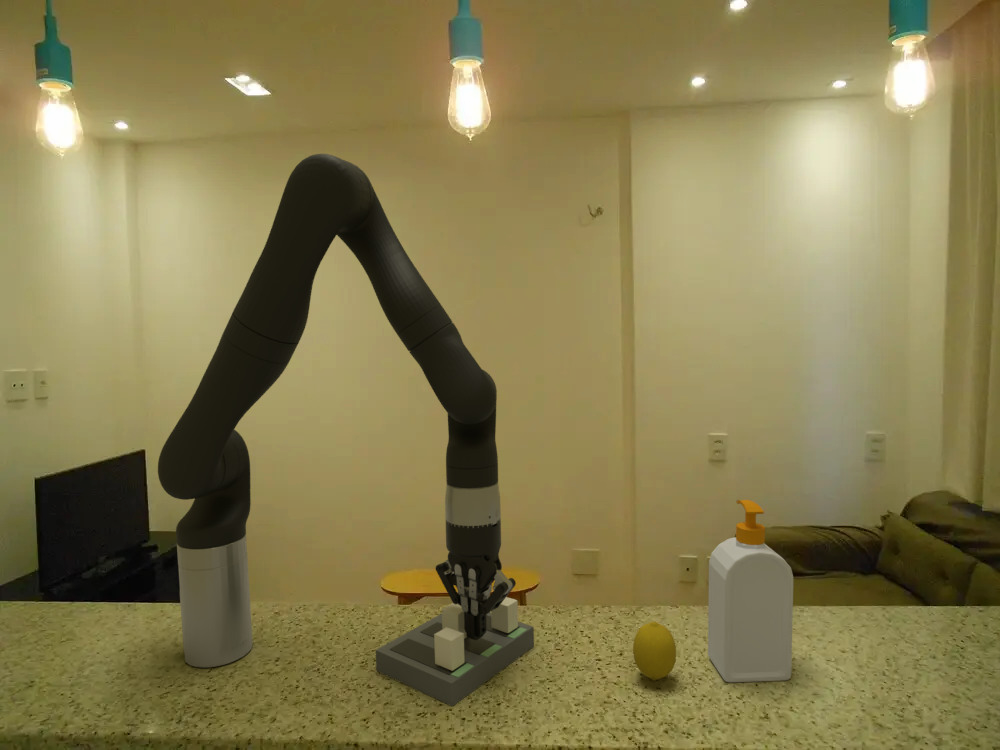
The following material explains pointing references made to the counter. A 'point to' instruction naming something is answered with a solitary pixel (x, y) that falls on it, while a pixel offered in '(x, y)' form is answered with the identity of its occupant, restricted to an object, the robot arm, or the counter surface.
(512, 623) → the block
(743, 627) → the soap bottle
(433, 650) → the breaker panel
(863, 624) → the counter surface
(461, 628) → the block
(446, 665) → the block
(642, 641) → the lemon
